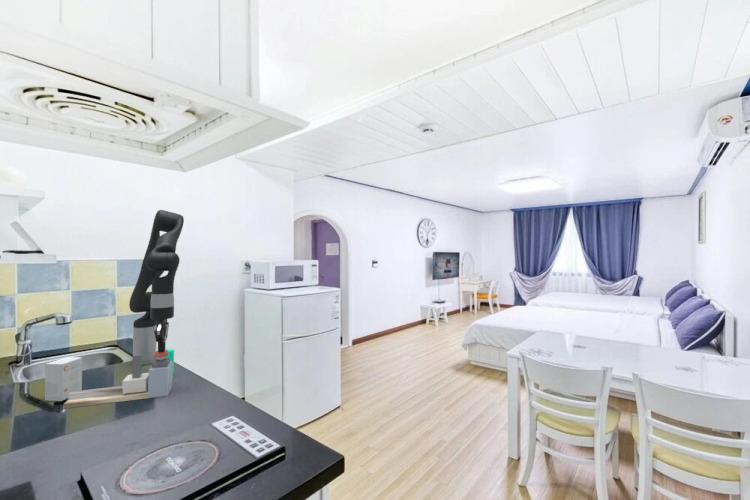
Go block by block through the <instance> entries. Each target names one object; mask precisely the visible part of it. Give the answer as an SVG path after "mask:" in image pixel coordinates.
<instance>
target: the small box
mask: <svg viewBox="0 0 750 500" xmlns="http://www.w3.org/2000/svg"><path fill="white" fill-rule="evenodd" d="M44 367H45V370H44V371H45V372H44V374H45V378H44V379H45V380H44V382H45V383H44V388H45V389H44V401H45V400H46V402H51V401H52V402H62V401H64V400H68V394H69V393H70V392H72V391H81V390H82V389H83V357H82V356H80V357H79V356H66V357H62V358H60V359H57V360H54V361H50V362H47V363H45V365H44ZM47 400H48V401H47Z"/></svg>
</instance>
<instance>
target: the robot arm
mask: <svg viewBox="0 0 750 500" xmlns="http://www.w3.org/2000/svg"><path fill="white" fill-rule="evenodd" d="M184 219H185V217H184V215H182V214H178V213H177V212H176V213H175V212H172V211H169V210H163V209H159V210H157V212H156V213H155V216H154V218H153V224H152V228H151V233H150V237H149V241H148V245H147V248H146V250H145V253H144V257H143V259H142V262H141V266H140V270H139V271H140V272H139V274H138V278H137V281H136V284H135V286H134V288H133V290H132V293H131V296H130V299H129V310H130V312H132V313H137V314H138V313H145V314H143V316H141V317H139V318H137V319H136V320H134V321H133V327H132V328H133V332H132V333H133V334H132V337H133V338H132V356H133V355H134V354H142V366H143V365H150V364H152V362H153V361H154V359H157V357H154V352H156V351H158V352H164V351H165V349H166V344H167V343H166V342H167V340H168V335H169V334H168V333H169V328H170V322H168V320H171V319H173V318H174V317H175V296H174V291H175V289H174V286H175V285H174V284H175V277H176V273H177V270H178V267H179V266H180V265H179V264H180V261H181V260H180V256H179V254H178V253H176V250H177V243H178V240H179V239H180V237H181V236H180V235H181V234H182V231H183V228H184ZM160 232H164V233H163V234H161V233H160ZM164 272H168V273H167V274H166V275H164V276H163V274H164ZM150 286H151V291H148V289H149V288H150Z"/></svg>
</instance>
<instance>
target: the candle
mask: <svg viewBox="0 0 750 500" xmlns="http://www.w3.org/2000/svg"><path fill="white" fill-rule="evenodd" d="M165 350H168V355H167V356H165V357H164V358H170V361H172V377H173V376H174V375H175V374H174V373H175V372H174V371H175V370H174V369H175V366H174V365H175V349H174V348H173V349H167V348H165ZM157 359H159V357H157Z"/></svg>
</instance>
